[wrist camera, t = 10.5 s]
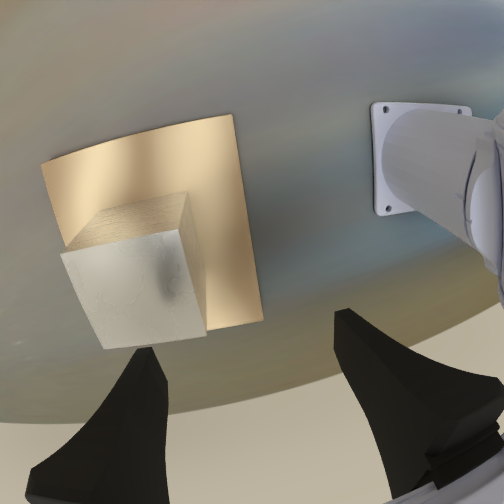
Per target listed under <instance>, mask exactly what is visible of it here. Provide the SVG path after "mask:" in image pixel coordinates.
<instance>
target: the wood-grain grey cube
mask: <svg viewBox="0 0 504 504" xmlns="http://www.w3.org/2000/svg"><path fill="white" fill-rule="evenodd" d="M60 255H61V257H62V260H63V262H64V265H65V267H66V270H67V272H68V275H69V277H70V280H71V282H72V284H73V287H74V289H75V291H76V293H77V296H78V298H79V300H80V302H81V304H82V307H83V309H84V311H85V313H86V315H87V317H88V319H89V321H90V323H91V325H92V327H93V329H94V331H95V333H96V335H97V337H98V339H99V341H100V343H101V345H102V346H103V348H104V349H112V348H121V347H130V346H138V345H147V344H154V343H162V342H169V341H176V340H183V339H190V338H196V337H203V336H207V303H206V271H205V267H204V263H203V259H202V254H201V250H200V246H199V241H198V237H197V233H196V228H195V224H194V219H193V214H192V210H191V205H190V200H189V196H188V191H183V192H178V193H173V194H168V195H163V196H159V197H154V198H149V199H145V200H140V201H136V202H132V203H127V204H123V205H119V206H115V207H111V208H107V209H102V210H99V211H98V212H97V213H96V214H95V215H94V216H93V218H92V219H91V220H90V221H89V222H88V223H87V224H86V225H85V226H84V227H83V228H82V230H81V231H80V232H79V233H78V234H77V235H76V236H75V237H74V239H73V240H72V241H71V242H70V243H69V244H68V246H67V247H66V248H65V249H64V250H63V251H62V253H61V254H60Z"/></svg>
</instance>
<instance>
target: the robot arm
mask: <svg viewBox="0 0 504 504" xmlns="http://www.w3.org/2000/svg"><path fill="white" fill-rule="evenodd" d="M384 106H385V107H386V112H385V113H384V112H383V107H384ZM458 111H459V114H458ZM371 121H372V135H373V155H374V209H375V212H376V214H378V215H379V216H386V215H392V214H398V213H404V212H411V211H419V212H420V213H422V214H423V215H425V216H426V217H428V218H430V219H431V220H433V221H434V222H436V223H437V224H439V225H440V226H442V227H444V228H445V229H447V230H448V231H450V232H451V233H452V234H454V235H455V236H457V237H458V238H460V239H461V240H463V241H464V242H466V243H467V244H468V245H470V246H471V247H473V248H474V249H476V250H477V251H479V252H480V253H481V254H482V256H483V258H484V261H485V267H486V268H487V269H489V270H490V271H491V272H493V273H494V274H495V275H496V276H498V277H499V278H498V295H499V300H500V302H501V305H502V307H503V309H504V108H503V109H502V111H501V112H500V113H499V115H497V116H496V117H495V118H494V120H488V119H483V118H478V117H473V116H472V112H471V109H470V108H469V107H467V106H458V105H445V104H430V103H406V102H375V103H373V104H372V106H371ZM388 205H389V209H388V210H386V207H387V206H388ZM334 351H335V354H336V357H337V359H338V362H339V364H340V367H341V370H342V372H343V373H344V375H345V377H346V379H347V381H348V383H349V385H350V386H351V388H352V390H353V392H354V394H355V396H356V398H357V399H358V401H359V403H360V405H361V407H362V409H363V411H364V413H365V415H366V417H367V419H368V421H369V425H370V427H371V430H372V432H373V435H374V438H375V441H376V443H377V446H378V449H379V452H380V455H381V458H382V462H383V465H384V468H385V472H386V475H387V479H388V482H389V487H390V490H391V495H392V499H393V500H391V501H389V502H386V503H384V504H503V503H504V433H503V434H502V435H501V436H500V435H499V433H498V430H499V428H500V426H499V424H498V423H497V421H496V420H497V419H498V417H499V416H500V415H501V413H502V412H503V410H504V385H503V384H502V383H501V382H500V380H499V379H498V378H496V377H490V376H484V375H479V374H474V373H470V372H466V371H462V370H459V369H456V368H452V367H449V366H447V365H444V364H441V363H439V362H436V361H434V360H431V359H429V358H427V357H425V356H423V355H421V354H419V353H416V352H414V351H413V350H411V349H409V348H407V347H405V346H404V345H402V344H400V343H399V342H397V341H395V340H394V339H392V338H390V337H389V336H387V335H386V334H384V333H383V332H381V331H380V330H379V329H377V328H376V327H374V326H373V325H372V324H370V323H369V322H367V321H366V320H365V319H363V318H362V317H361V316H359V315H358V314H357V313H355V312H354V311H352V310H351V309H350V308H347V309H343V310H339V311H335V318H334ZM168 404H169V403H168V381H167V379H166V377H165V375H164V373H163V371H162V369H161V366H160V364H159V362H158V360H157V358H156V356H155V353H154V351H153V349H152V347H146V348H139V349H137V350H136V352H135V353H134V355H133V356H132V358H131V359H130V361H129V363H128V364H127V366H126V368H125V369H124V371H123V373H122V374H121V376H120V377H119V379H118V381H117V382H116V384H115V385H114V387H113V388H112V390H111V391H110V393H109V394H108V396H107V397H106V399H105V400H104V401H103V403H102V404H101V406H100V407H99V408H98V410H97V411H96V412H95V413H94V415H93V416H92V417H91V418H90V419H89V421H88V422H87V423H86V424H85V425H84V426H83V427H82V428H81V429H80V431H78V432H77V433H76V434H75V435H74V436H73V437H72V438H71V439H70V440H69V441H68V442H67V443H66V444H65V445H63V446H62V447H61V448H60V449H59V450H57V451H56V452H55V453H54V454H52V455H51V456H50V457H49V458H47V459H45V460H44V461H43V462H41V463H40V464H38V465H37V466H35V467H33V468H32V469H31V471H30V475H29V479H28V483H27V488H26V492H25V497H26V499H27V501H28V502H30V503H31V504H170V502H169V495H168V486H167V477H166V463H165V445H166V430H167V418H168Z"/></svg>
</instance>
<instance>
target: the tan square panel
mask: <svg viewBox="0 0 504 504" xmlns="http://www.w3.org/2000/svg"><path fill="white" fill-rule="evenodd" d="M41 168H42V172H43V176H44V179H45V183H46V187H47V190H48V194H49V197H50V200H51V204H52V207H53V210H54V213H55V216H56V220H57V223H58V226H59V228H60V231H61V234H62V237H63V240H64V243H65V245H66V247H67V246H68V244H69V243H70V242H71V241H72V240H73V239H74V237H75V236H76V235H77V234H78V233H79V232H80V231H81V230H82V228H83V227H84V226H85V225H86V224H87V223H88V222H89V221H90V220H91V219H92V218H93V216H94V215H95V214H96V213H97V212H98V211H99V210H102V209H107V208H111V207H115V206H119V205H123V204H127V203H132V202H136V201H140V200H145V199H149V198H154V197H159V196H163V195H168V194H173V193H178V192H183V191H188V196H189V200H190V205H191V210H192V214H193V219H194V224H195V228H196V233H197V237H198V241H199V246H200V250H201V254H202V259H203V263H204V267H205V271H206V303H207V330H212V329H218V328H224V327H230V326H235V325H241V324H246V323H252V322H257V321H262V320H264V319H263V313H262V306H261V300H260V293H259V287H258V280H257V274H256V267H255V261H254V254H253V248H252V241H251V235H250V228H249V221H248V215H247V208H246V202H245V195H244V189H243V182H242V176H241V169H240V163H239V156H238V150H237V144H236V137H235V131H234V124H233V118H232V114H228V115H222V116H216V117H210V118H205V119H199V120H194V121H189V122H184V123H179V124H174V125H170V126H165V127H161V128H157V129H152V130H148V131H144V132H140V133H136V134H132V135H129V136H125V137H121V138H118V139H114V140H111V141H107V142H104V143H100V144H97V145H94V146H91V147H87V148H84V149H81V150H78V151H75V152H72V153H69V154H66V155H63V156H60V157H58V158H55V159H52V160H49V161H47V162H45V163H43V164H41Z"/></svg>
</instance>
